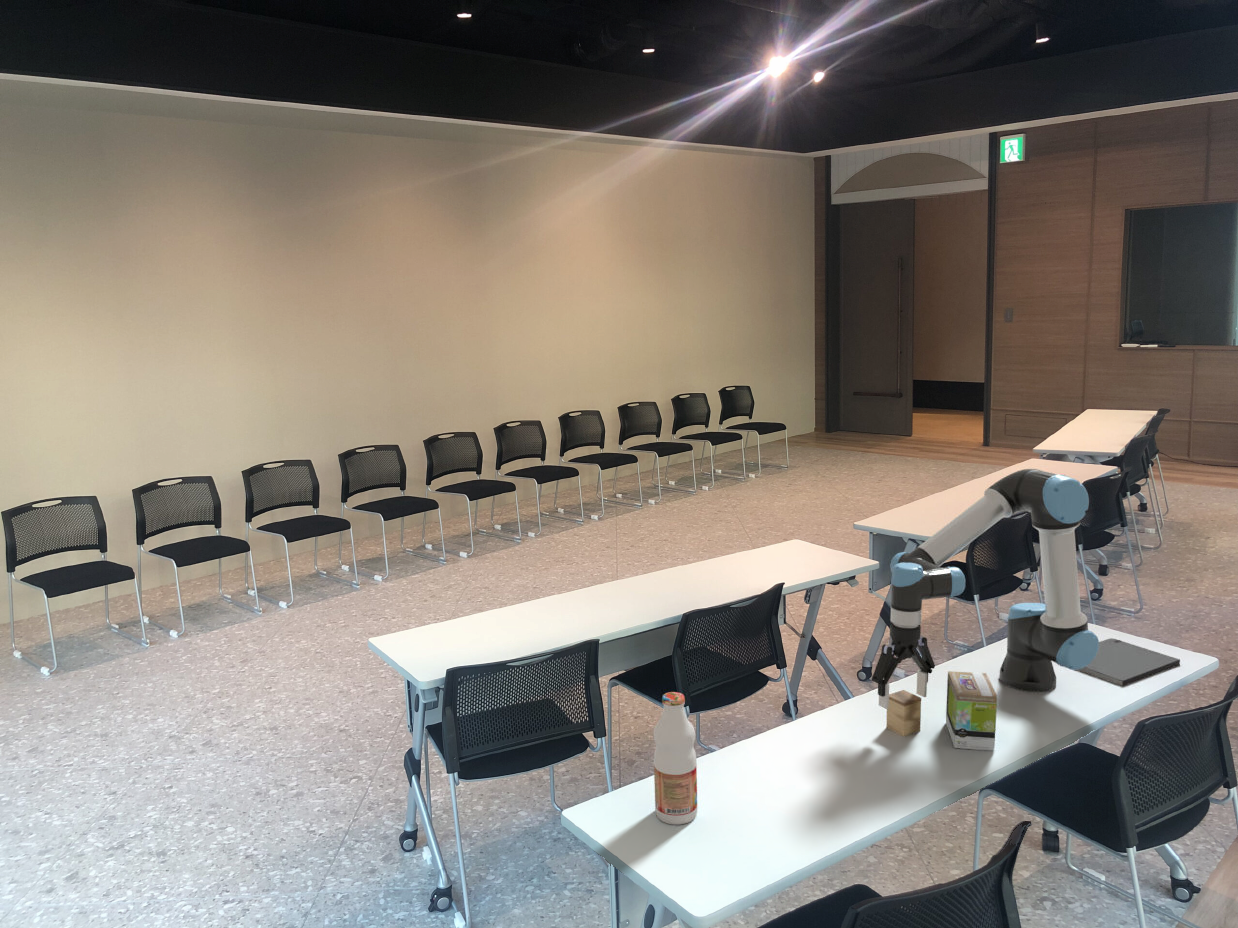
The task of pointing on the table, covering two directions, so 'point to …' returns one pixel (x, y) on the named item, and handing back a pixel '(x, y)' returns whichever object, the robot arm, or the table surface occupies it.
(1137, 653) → the notebook
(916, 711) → the oak block
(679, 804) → the fruit juice
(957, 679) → the tea box
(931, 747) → the table surface
